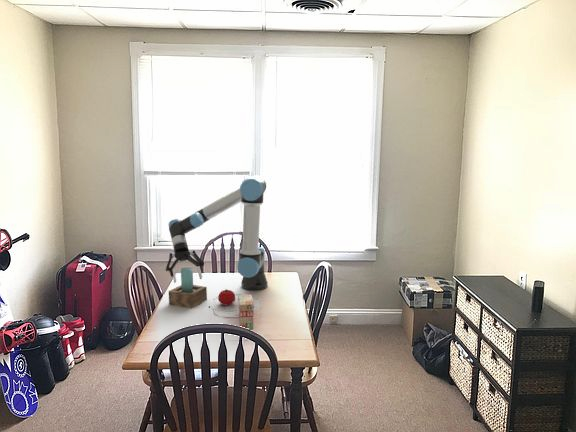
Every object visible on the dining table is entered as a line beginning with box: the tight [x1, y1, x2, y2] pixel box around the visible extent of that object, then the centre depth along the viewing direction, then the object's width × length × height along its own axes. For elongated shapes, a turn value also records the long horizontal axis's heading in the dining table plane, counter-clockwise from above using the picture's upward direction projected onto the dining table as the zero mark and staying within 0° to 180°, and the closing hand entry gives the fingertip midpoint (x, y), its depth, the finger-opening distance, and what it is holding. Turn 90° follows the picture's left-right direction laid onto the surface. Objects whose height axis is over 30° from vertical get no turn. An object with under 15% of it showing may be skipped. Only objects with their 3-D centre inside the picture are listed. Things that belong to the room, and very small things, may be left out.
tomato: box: [217, 288, 236, 306], centre depth 261 cm, size 9×9×8 cm
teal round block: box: [180, 266, 194, 293], centre depth 263 cm, size 6×6×12 cm
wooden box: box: [168, 284, 208, 309], centre depth 264 cm, size 14×14×7 cm
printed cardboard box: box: [237, 294, 254, 330], centre depth 239 cm, size 21×6×12 cm, turn 7°
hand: (188, 279), depth 261 cm, fingers open, 13 cm apart
